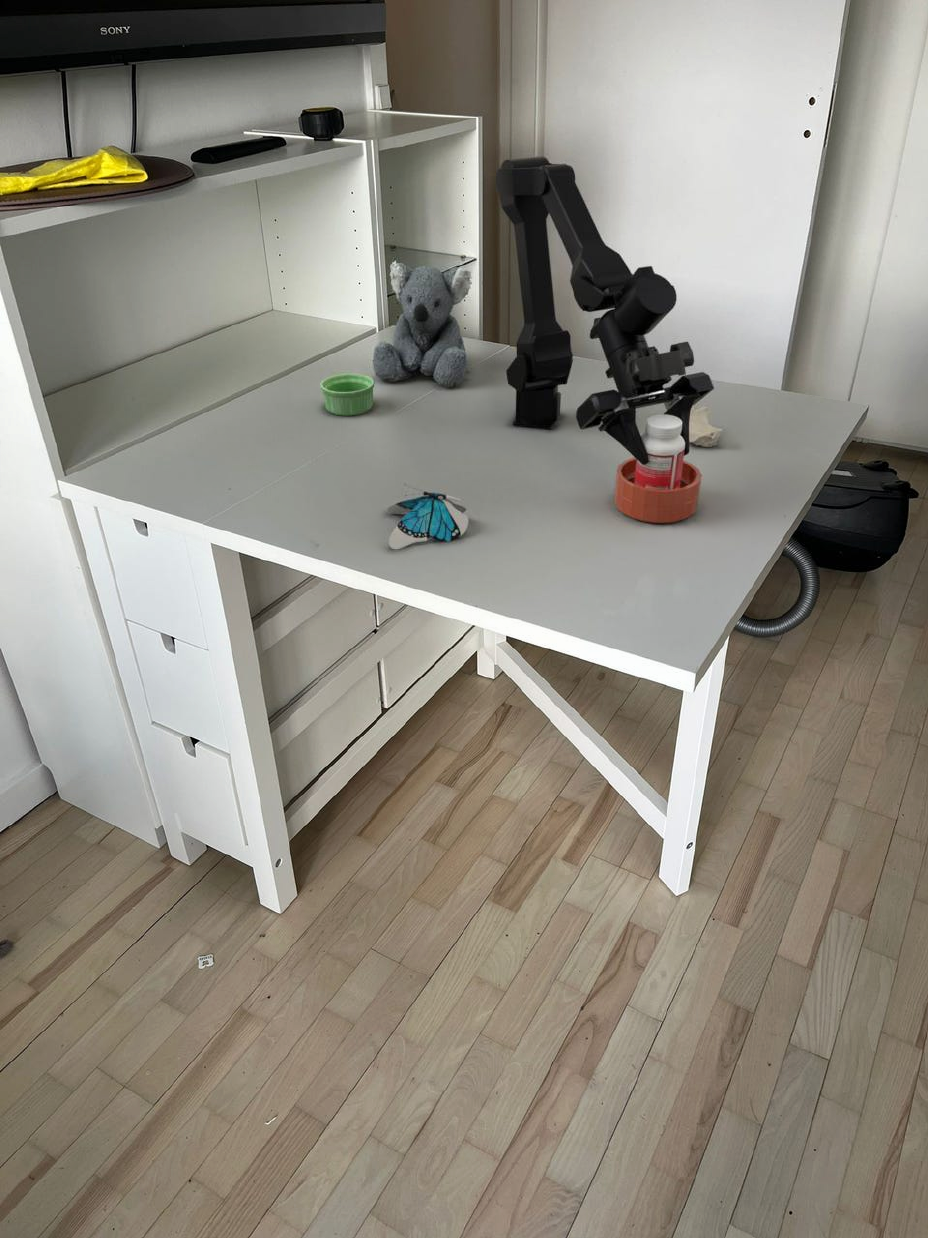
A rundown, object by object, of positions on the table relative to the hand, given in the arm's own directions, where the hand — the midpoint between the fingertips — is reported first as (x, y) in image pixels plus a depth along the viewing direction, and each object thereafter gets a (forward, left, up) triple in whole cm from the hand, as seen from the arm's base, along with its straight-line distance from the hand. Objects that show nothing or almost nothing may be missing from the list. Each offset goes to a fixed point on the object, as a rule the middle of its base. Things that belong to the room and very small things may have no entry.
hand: (666, 459), depth 127 cm
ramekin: (-56, +23, -8) cm, 61 cm away
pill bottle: (-1, +1, -6) cm, 7 cm away
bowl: (-1, +1, -7) cm, 8 cm away
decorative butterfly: (-29, -14, -8) cm, 33 cm away
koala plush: (-49, +44, -8) cm, 66 cm away
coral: (+1, +26, -8) cm, 27 cm away
